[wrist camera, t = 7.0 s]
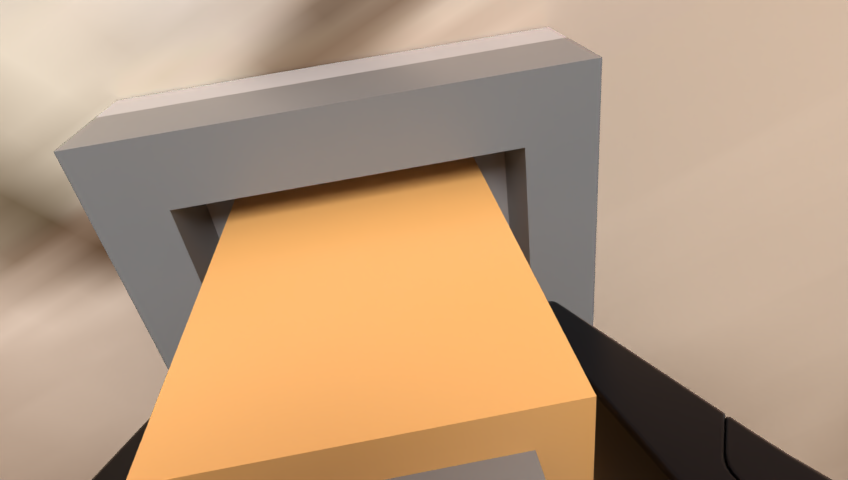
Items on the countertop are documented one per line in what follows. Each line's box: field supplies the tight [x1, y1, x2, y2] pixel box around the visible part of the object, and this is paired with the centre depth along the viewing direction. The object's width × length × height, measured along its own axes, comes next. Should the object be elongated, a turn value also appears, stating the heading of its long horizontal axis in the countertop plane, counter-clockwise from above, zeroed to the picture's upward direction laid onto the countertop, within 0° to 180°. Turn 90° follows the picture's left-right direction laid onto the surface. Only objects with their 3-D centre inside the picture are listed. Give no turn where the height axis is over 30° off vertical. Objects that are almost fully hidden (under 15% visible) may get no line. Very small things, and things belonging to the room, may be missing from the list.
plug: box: [126, 157, 596, 480], centre depth 8 cm, size 4×4×7 cm
